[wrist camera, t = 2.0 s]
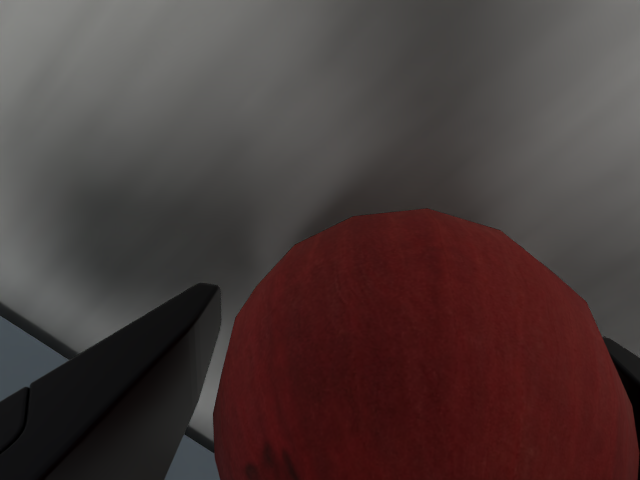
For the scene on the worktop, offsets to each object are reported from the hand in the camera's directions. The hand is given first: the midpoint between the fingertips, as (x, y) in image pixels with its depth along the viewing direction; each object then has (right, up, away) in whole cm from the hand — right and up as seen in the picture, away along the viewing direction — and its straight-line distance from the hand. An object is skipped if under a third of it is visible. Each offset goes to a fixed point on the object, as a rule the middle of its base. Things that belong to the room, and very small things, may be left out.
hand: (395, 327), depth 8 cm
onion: (0, +1, +2) cm, 2 cm away
